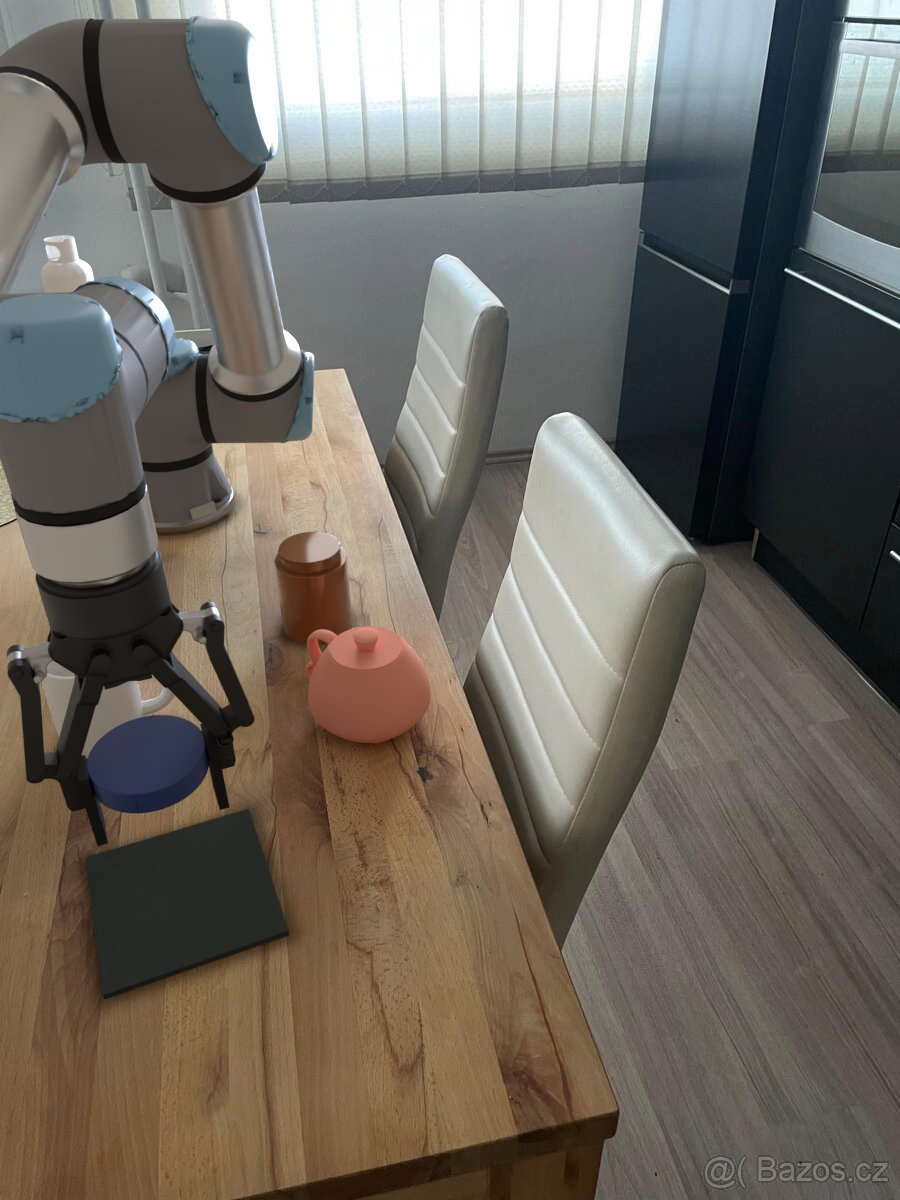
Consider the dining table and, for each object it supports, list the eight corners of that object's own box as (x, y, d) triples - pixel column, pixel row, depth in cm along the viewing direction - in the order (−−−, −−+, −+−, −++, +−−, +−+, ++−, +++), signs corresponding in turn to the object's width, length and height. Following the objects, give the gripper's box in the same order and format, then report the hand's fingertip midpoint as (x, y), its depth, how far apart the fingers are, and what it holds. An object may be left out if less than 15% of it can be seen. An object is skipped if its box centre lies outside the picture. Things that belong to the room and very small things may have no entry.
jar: (275, 613, 109) (265, 537, 103) (339, 599, 112) (333, 523, 106) (293, 651, 103) (283, 572, 97) (360, 634, 105) (355, 556, 100)
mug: (184, 693, 97) (167, 613, 91) (187, 745, 90) (169, 662, 84) (63, 714, 94) (38, 633, 88) (58, 769, 87) (30, 685, 82)
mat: (86, 861, 78) (85, 856, 78) (249, 812, 83) (248, 808, 82) (104, 1000, 68) (102, 995, 67) (289, 935, 72) (288, 930, 72)
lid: (198, 812, 64) (193, 793, 63) (77, 816, 64) (71, 797, 62) (217, 731, 71) (214, 712, 70) (109, 735, 70) (103, 716, 69)
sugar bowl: (385, 773, 87) (380, 689, 81) (272, 721, 93) (260, 640, 87) (453, 702, 95) (453, 621, 90) (346, 659, 102) (339, 581, 96)
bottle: (129, 398, 166) (95, 235, 150) (98, 414, 160) (59, 246, 144) (94, 391, 169) (58, 231, 153) (62, 407, 163) (21, 241, 147)
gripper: (251, 500, 63) (285, 745, 76) (-87, 564, 56) (12, 821, 69) (278, 551, 58) (310, 807, 70) (-95, 629, 51) (15, 896, 63)
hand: (162, 814), depth 70 cm, fingers closed on lid, 8 cm apart
